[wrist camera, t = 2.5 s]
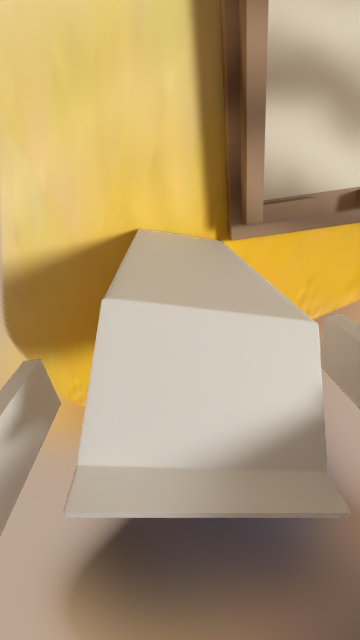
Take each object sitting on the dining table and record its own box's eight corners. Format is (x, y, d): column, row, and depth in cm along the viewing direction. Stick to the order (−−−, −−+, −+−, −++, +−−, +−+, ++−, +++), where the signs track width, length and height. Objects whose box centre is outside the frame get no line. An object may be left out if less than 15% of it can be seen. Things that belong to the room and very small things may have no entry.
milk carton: (138, 227, 21) (51, 394, 4) (221, 240, 22) (433, 418, 5) (132, 306, 24) (69, 582, 7) (205, 314, 25) (300, 574, 8)
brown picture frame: (217, -83, 14) (229, -134, 12) (506, -122, 14) (572, -180, 12) (228, 238, 22) (236, 244, 20) (412, 212, 22) (441, 214, 20)
